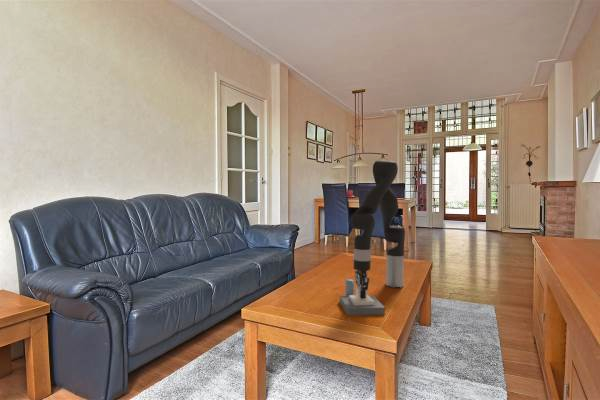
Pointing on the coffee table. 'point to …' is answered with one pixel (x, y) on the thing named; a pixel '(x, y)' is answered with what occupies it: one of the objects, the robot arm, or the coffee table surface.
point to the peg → (349, 287)
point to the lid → (357, 300)
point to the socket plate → (362, 307)
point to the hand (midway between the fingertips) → (361, 296)
